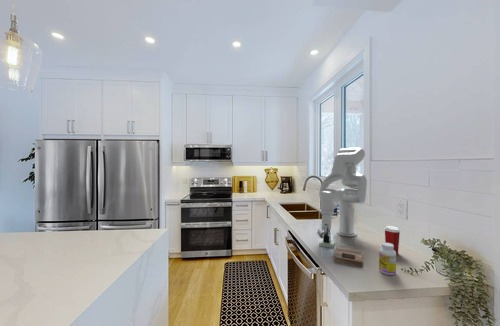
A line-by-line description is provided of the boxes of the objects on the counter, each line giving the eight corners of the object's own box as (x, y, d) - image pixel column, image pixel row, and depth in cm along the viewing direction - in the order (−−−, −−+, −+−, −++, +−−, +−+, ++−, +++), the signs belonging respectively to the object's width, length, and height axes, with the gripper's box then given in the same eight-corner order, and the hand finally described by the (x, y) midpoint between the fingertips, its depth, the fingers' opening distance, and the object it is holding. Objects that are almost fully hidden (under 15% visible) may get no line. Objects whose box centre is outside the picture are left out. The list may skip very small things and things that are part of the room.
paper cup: (397, 251, 125) (398, 226, 125) (402, 256, 118) (402, 230, 118) (382, 249, 128) (382, 225, 128) (385, 254, 121) (385, 229, 121)
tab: (321, 241, 140) (321, 238, 140) (334, 243, 137) (334, 240, 137) (319, 245, 133) (319, 242, 133) (333, 248, 130) (333, 244, 130)
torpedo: (329, 240, 143) (329, 230, 143) (322, 240, 144) (322, 229, 144) (322, 231, 161) (322, 222, 161) (315, 231, 162) (315, 222, 162)
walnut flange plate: (336, 250, 126) (336, 245, 126) (362, 254, 121) (362, 249, 121) (334, 262, 112) (334, 256, 112) (362, 267, 106) (362, 261, 106)
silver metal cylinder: (323, 239, 138) (323, 231, 138) (331, 240, 136) (331, 232, 136) (322, 241, 134) (322, 233, 134) (330, 243, 132) (330, 234, 132)
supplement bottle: (375, 268, 105) (376, 241, 105) (389, 268, 105) (389, 241, 105) (385, 276, 98) (385, 247, 98) (399, 275, 99) (399, 246, 99)
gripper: (322, 208, 144) (322, 235, 145) (318, 213, 129) (318, 244, 129) (334, 209, 141) (334, 237, 141) (332, 215, 125) (332, 246, 126)
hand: (326, 240), depth 135 cm, fingers open, 6 cm apart
